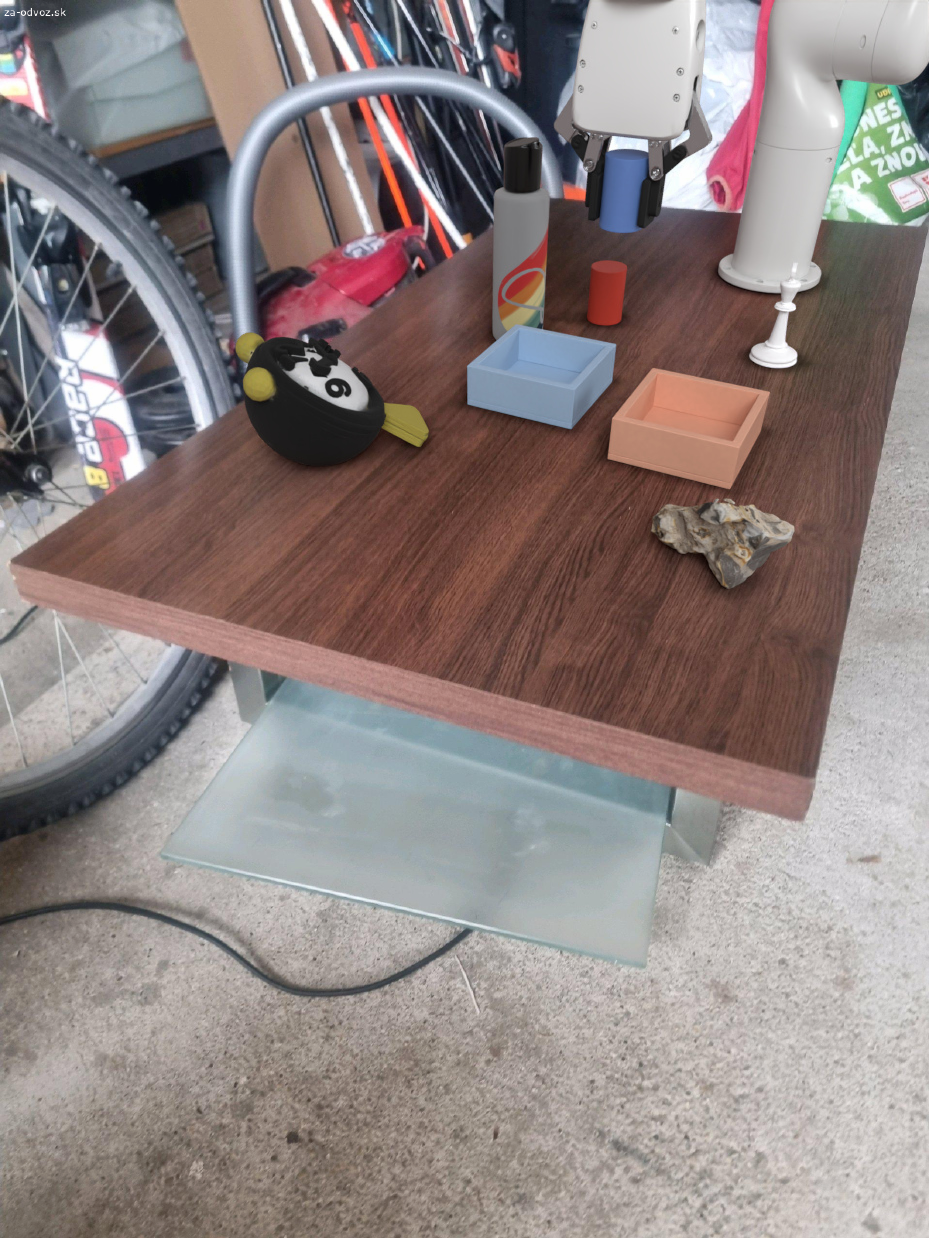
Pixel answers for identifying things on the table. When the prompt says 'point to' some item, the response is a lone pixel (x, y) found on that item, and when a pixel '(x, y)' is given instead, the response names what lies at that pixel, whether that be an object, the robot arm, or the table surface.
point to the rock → (723, 536)
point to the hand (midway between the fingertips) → (621, 218)
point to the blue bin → (541, 375)
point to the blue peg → (622, 189)
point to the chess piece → (779, 330)
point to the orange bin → (688, 427)
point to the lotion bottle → (520, 239)
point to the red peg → (606, 292)
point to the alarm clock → (316, 402)
